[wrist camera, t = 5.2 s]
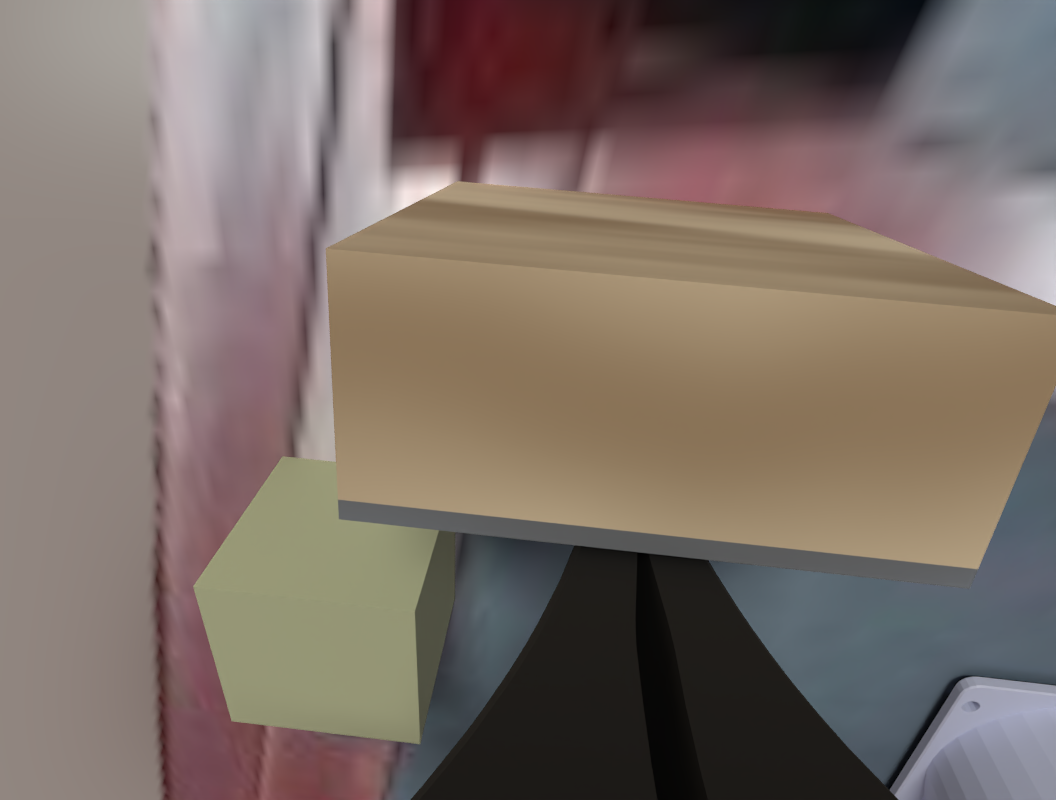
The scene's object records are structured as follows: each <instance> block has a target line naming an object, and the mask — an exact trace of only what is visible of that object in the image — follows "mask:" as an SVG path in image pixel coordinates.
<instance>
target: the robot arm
mask: <svg viewBox="0 0 1056 800" xmlns="http://www.w3.org/2000/svg"><path fill="white" fill-rule="evenodd" d="M411 800H1056V686H1055V685H1047V684H1038V683H1029V682H1021V681H1012V680H1004V679H995V678H986V677H978V676H971V677H967V678H964V679H962V680H960V681H959V682H958V683H957V684H956V685H955V687H954V688H953V690H952V692H951V693H950V695H949V696H948V698H947V700H946V701H945V703H944V704H943V706H942V707H941V709H940V711H939V712H938V714H937V715H936V717H935V719H934V720H933V722H932V723H931V725H930V727H929V728H928V730H927V731H926V733H925V734H924V736H923V738H922V739H921V741H920V742H919V744H918V746H917V747H916V749H915V750H914V752H913V753H912V755H911V757H910V758H909V760H908V761H907V763H906V765H905V766H904V768H903V769H902V771H901V772H900V774H899V776H898V777H897V779H896V780H895V782H894V784H893V785H892V787H891V788H890V790H889V789H888V788H887V787H886V786H885V785H884V784H883V783H882V782H881V781H880V780H879V779H878V778H877V777H876V776H875V775H874V774H873V773H872V772H871V771H870V770H869V769H868V768H867V767H866V766H865V765H864V764H863V763H862V762H861V760H860V759H859V758H858V757H857V756H856V755H855V754H854V753H853V752H852V751H851V750H850V749H849V748H848V747H847V746H846V745H845V744H844V742H843V741H842V740H841V739H840V738H839V737H838V736H837V735H836V733H835V732H834V731H833V730H832V729H831V728H830V727H829V725H828V724H827V723H826V722H825V721H824V720H823V719H822V718H821V716H820V715H819V714H818V713H817V712H816V711H815V709H814V708H813V707H812V706H811V705H810V703H809V702H808V701H807V700H806V699H805V697H804V696H803V695H802V694H801V692H800V691H799V690H798V689H797V688H796V686H795V685H794V684H793V683H792V681H791V680H790V679H789V678H788V676H787V675H786V674H785V673H784V671H783V670H782V669H781V667H780V666H779V665H778V663H777V662H776V661H775V659H774V658H773V657H772V655H771V654H770V653H769V651H768V650H767V649H766V647H765V646H764V644H763V643H762V642H761V640H760V639H759V637H758V636H757V635H756V633H755V632H754V631H753V629H752V628H751V626H750V625H749V623H748V622H747V620H746V619H745V618H744V616H743V615H742V613H741V612H740V610H739V609H738V607H737V606H736V604H735V603H734V601H733V599H732V598H731V596H730V595H729V593H728V592H727V590H726V588H725V587H724V585H723V584H722V582H721V581H720V579H719V577H718V576H717V574H716V573H715V571H714V569H713V568H712V566H711V564H710V563H709V561H708V560H704V559H695V558H686V557H677V556H668V555H658V554H649V553H640V552H631V551H622V550H613V549H604V548H595V547H586V546H577V545H575V546H574V548H573V550H572V553H571V555H570V558H569V560H568V562H567V565H566V567H565V570H564V572H563V574H562V577H561V579H560V581H559V583H558V585H557V587H556V589H555V591H554V593H553V595H552V597H551V599H550V601H549V603H548V605H547V607H546V609H545V611H544V613H543V615H542V617H541V619H540V621H539V622H538V624H537V626H536V628H535V629H534V631H533V633H532V635H531V636H530V638H529V640H528V642H527V643H526V645H525V647H524V648H523V650H522V652H521V653H520V655H519V656H518V658H517V660H516V661H515V663H514V664H513V666H512V667H511V669H510V671H509V672H508V674H507V675H506V677H505V678H504V680H503V681H502V683H501V684H500V685H499V687H498V688H497V690H496V691H495V693H494V694H493V696H492V697H491V698H490V700H489V701H488V703H487V704H486V706H485V707H484V709H483V710H482V711H481V713H480V714H479V715H478V717H477V718H476V720H475V721H474V722H473V724H472V725H471V726H470V728H469V729H468V730H467V732H466V733H465V734H464V735H463V737H462V738H461V739H460V740H459V742H458V743H457V744H456V745H455V747H454V748H453V749H452V750H451V751H450V753H449V754H448V755H447V756H446V758H445V759H444V760H443V761H442V763H441V764H440V765H439V766H438V768H437V769H436V770H435V771H434V772H433V774H432V775H431V776H430V777H429V779H428V780H427V781H426V782H425V784H424V785H423V786H422V787H421V788H420V789H419V791H418V792H417V793H416V794H415V795H414V796H413V798H412V799H411Z"/></svg>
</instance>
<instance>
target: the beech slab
mask: <svg viewBox="0 0 1056 800" xmlns="http://www.w3.org/2000/svg"><path fill="white" fill-rule="evenodd" d="M326 262H327V283H328V304H329V325H330V346H331V366H332V387H333V408H334V429H335V450H336V470H337V491H338V512H339V519H341V520H350V521H359V522H368V523H377V524H386V525H395V526H404V527H413V528H422V529H432V530H441V531H450V532H459V533H468V534H477V535H486V536H495V537H504V538H513V539H522V540H531V541H540V542H550V543H559V544H568V545H577V546H586V547H595V548H604V549H613V550H622V551H631V552H640V553H649V554H658V555H668V556H677V557H686V558H695V559H704V560H713V561H722V562H731V563H740V564H749V565H758V566H767V567H777V568H786V569H795V570H804V571H813V572H822V573H831V574H840V575H849V576H858V577H867V578H876V579H885V580H895V581H904V582H913V583H922V584H931V585H940V586H949V587H958V588H967V589H970V587H971V584H972V582H973V580H974V577H975V575H976V573H977V570H978V568H979V565H980V563H981V561H982V558H983V556H984V554H985V551H986V549H987V547H988V544H989V542H990V540H991V537H992V535H993V532H994V530H995V528H996V525H997V523H998V521H999V518H1000V516H1001V514H1002V511H1003V509H1004V506H1005V504H1006V502H1007V499H1008V497H1009V495H1010V492H1011V490H1012V488H1013V485H1014V483H1015V480H1016V478H1017V476H1018V473H1019V471H1020V469H1021V466H1022V464H1023V462H1024V459H1025V457H1026V455H1027V452H1028V450H1029V447H1030V445H1031V443H1032V440H1033V438H1034V436H1035V433H1036V431H1037V429H1038V426H1039V424H1040V421H1041V419H1042V417H1043V414H1044V412H1045V410H1046V407H1047V405H1048V403H1049V400H1050V398H1051V395H1052V393H1053V391H1054V388H1055V386H1056V306H1055V305H1052V304H1050V303H1047V302H1045V301H1042V300H1040V299H1037V298H1035V297H1032V296H1030V295H1028V294H1025V293H1023V292H1020V291H1018V290H1015V289H1013V288H1010V287H1008V286H1005V285H1003V284H1001V283H998V282H996V281H993V280H991V279H988V278H986V277H983V276H981V275H978V274H976V273H973V272H971V271H969V270H966V269H964V268H961V267H959V266H956V265H954V264H951V263H949V262H946V261H944V260H942V259H939V258H937V257H934V256H932V255H929V254H927V253H924V252H922V251H919V250H917V249H915V248H912V247H910V246H907V245H905V244H902V243H900V242H897V241H895V240H892V239H890V238H888V237H885V236H883V235H880V234H878V233H875V232H873V231H870V230H868V229H865V228H863V227H861V226H858V225H856V224H853V223H851V222H848V221H846V220H843V219H841V218H838V217H836V216H833V215H831V214H829V213H820V212H808V211H797V210H785V209H773V208H762V207H750V206H738V205H726V204H715V203H703V202H691V201H680V200H668V199H656V198H645V197H633V196H621V195H610V194H598V193H586V192H575V191H563V190H551V189H539V188H528V187H516V186H504V185H493V184H481V183H469V182H458V181H457V182H455V183H453V184H451V185H449V186H447V187H446V188H444V189H442V190H440V191H438V192H436V193H434V194H432V195H430V196H428V197H426V198H424V199H422V200H420V201H418V202H416V203H414V204H412V205H410V206H408V207H406V208H404V209H402V210H400V211H398V212H396V213H395V214H393V215H391V216H389V217H387V218H385V219H383V220H381V221H379V222H377V223H375V224H373V225H371V226H369V227H367V228H365V229H363V230H361V231H359V232H357V233H355V234H353V235H351V236H349V237H347V238H346V239H344V240H342V241H340V242H338V243H336V244H334V245H332V246H330V247H328V248H326Z"/></svg>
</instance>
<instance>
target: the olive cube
mask: <svg viewBox="0 0 1056 800" xmlns="http://www.w3.org/2000/svg"><path fill="white" fill-rule="evenodd" d="M193 587H194V591H195V594H196V598H197V601H198V605H199V608H200V612H201V615H202V619H203V622H204V626H205V629H206V633H207V636H208V640H209V643H210V647H211V650H212V654H213V657H214V661H215V664H216V668H217V671H218V675H219V678H220V682H221V685H222V689H223V692H224V696H225V699H226V703H227V706H228V710H229V713H230V717H231V720H232V721H235V722H243V723H252V724H260V725H268V726H276V727H284V728H292V729H301V730H309V731H317V732H325V733H333V734H341V735H350V736H358V737H366V738H374V739H382V740H390V741H399V742H407V743H415V744H420V743H421V739H422V734H423V730H424V726H425V722H426V718H427V713H428V709H429V705H430V701H431V697H432V692H433V688H434V684H435V680H436V675H437V671H438V667H439V663H440V659H441V654H442V650H443V646H444V642H445V637H446V633H447V629H448V625H449V621H450V616H451V612H452V608H453V604H454V600H455V532H450V531H441V530H432V529H422V528H413V527H404V526H395V525H386V524H377V523H368V522H359V521H350V520H341V519H339V512H338V491H337V470H336V462H330V461H321V460H311V459H302V458H292V457H282V458H281V460H280V461H279V462H278V464H277V465H276V467H275V468H274V470H273V471H272V473H271V474H270V476H269V477H268V478H267V480H266V481H265V483H264V484H263V486H262V487H261V489H260V490H259V492H258V493H257V494H256V496H255V497H254V499H253V500H252V502H251V503H250V505H249V506H248V508H247V509H246V510H245V512H244V513H243V515H242V516H241V518H240V519H239V521H238V522H237V524H236V525H235V526H234V528H233V529H232V531H231V532H230V534H229V535H228V537H227V538H226V540H225V541H224V542H223V544H222V545H221V547H220V548H219V550H218V551H217V553H216V554H215V556H214V557H213V558H212V560H211V561H210V563H209V564H208V566H207V567H206V569H205V570H204V572H203V573H202V574H201V576H200V577H199V579H198V580H197V582H196V583H195V585H194V586H193Z"/></svg>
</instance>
